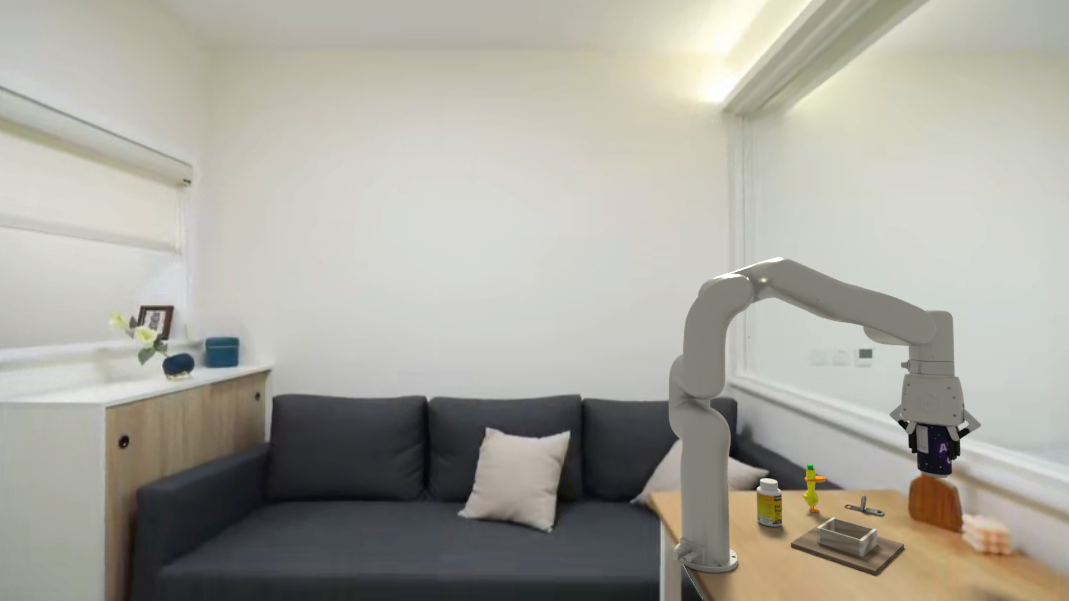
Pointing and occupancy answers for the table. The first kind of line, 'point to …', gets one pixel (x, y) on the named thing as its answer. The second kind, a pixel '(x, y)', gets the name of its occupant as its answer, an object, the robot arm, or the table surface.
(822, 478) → the toy figure
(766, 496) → the supplement bottle
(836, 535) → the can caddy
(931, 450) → the beverage can
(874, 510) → the strap clip
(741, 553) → the table surface
